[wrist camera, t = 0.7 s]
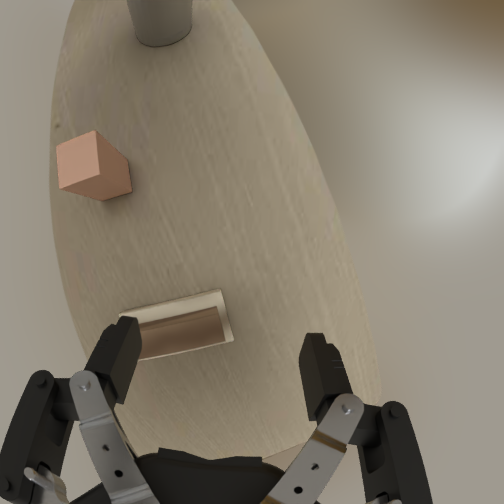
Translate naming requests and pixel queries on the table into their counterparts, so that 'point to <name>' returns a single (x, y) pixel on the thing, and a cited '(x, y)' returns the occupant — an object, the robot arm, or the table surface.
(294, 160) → the table surface
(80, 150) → the block
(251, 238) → the table surface
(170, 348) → the stand
